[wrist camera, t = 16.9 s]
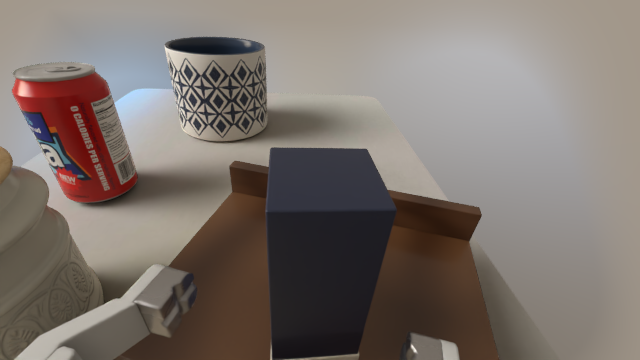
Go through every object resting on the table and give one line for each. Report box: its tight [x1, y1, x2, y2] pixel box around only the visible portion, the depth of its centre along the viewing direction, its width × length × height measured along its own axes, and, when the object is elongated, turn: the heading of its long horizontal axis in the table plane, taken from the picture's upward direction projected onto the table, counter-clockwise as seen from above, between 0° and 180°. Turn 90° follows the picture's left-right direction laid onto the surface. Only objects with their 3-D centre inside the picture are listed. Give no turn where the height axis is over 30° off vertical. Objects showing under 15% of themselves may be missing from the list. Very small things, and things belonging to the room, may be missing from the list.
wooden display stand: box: [113, 161, 499, 360], centre depth 23 cm, size 24×18×8 cm
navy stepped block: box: [265, 148, 397, 360], centre depth 19 cm, size 5×11×12 cm, turn 6°
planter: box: [165, 37, 267, 141], centre depth 53 cm, size 16×16×14 cm
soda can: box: [12, 62, 138, 203], centre depth 34 cm, size 8×8×15 cm
